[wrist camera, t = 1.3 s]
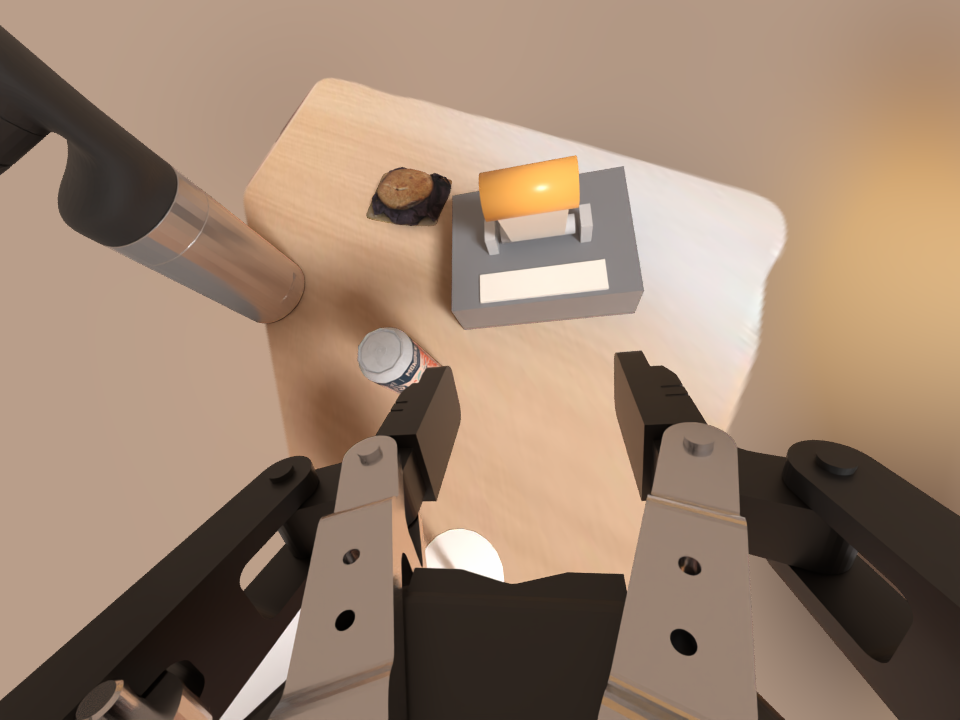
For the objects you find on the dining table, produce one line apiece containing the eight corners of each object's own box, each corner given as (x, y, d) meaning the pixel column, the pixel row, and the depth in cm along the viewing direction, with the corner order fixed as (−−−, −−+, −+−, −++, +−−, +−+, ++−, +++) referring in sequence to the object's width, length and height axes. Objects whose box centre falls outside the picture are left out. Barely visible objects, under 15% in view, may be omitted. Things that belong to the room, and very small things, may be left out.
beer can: (435, 415, 40) (384, 391, 29) (401, 393, 42) (341, 361, 30) (459, 377, 41) (419, 339, 29) (425, 356, 42) (375, 313, 31)
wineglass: (507, 524, 35) (425, 589, 15) (505, 644, 33) (400, 930, 12) (419, 518, 37) (239, 568, 17) (410, 631, 34) (180, 857, 14)
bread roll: (366, 224, 51) (351, 205, 47) (388, 172, 53) (375, 151, 49) (436, 234, 48) (426, 215, 44) (457, 179, 49) (448, 156, 46)
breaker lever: (575, 241, 37) (589, 199, 22) (504, 251, 38) (474, 217, 24) (572, 209, 36) (585, 145, 22) (501, 220, 38) (469, 167, 23)
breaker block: (634, 313, 39) (649, 276, 32) (464, 329, 42) (444, 300, 35) (617, 200, 43) (627, 146, 36) (464, 224, 46) (445, 179, 39)
